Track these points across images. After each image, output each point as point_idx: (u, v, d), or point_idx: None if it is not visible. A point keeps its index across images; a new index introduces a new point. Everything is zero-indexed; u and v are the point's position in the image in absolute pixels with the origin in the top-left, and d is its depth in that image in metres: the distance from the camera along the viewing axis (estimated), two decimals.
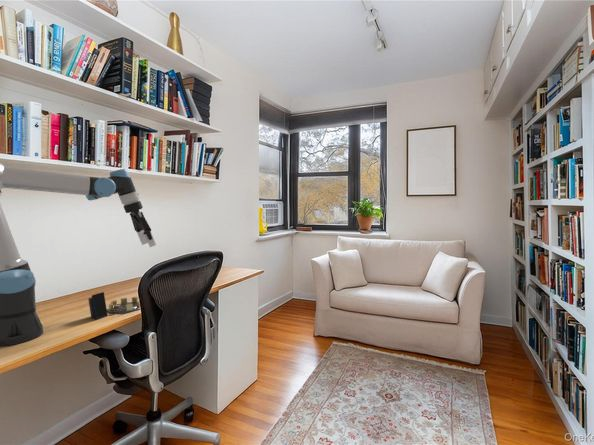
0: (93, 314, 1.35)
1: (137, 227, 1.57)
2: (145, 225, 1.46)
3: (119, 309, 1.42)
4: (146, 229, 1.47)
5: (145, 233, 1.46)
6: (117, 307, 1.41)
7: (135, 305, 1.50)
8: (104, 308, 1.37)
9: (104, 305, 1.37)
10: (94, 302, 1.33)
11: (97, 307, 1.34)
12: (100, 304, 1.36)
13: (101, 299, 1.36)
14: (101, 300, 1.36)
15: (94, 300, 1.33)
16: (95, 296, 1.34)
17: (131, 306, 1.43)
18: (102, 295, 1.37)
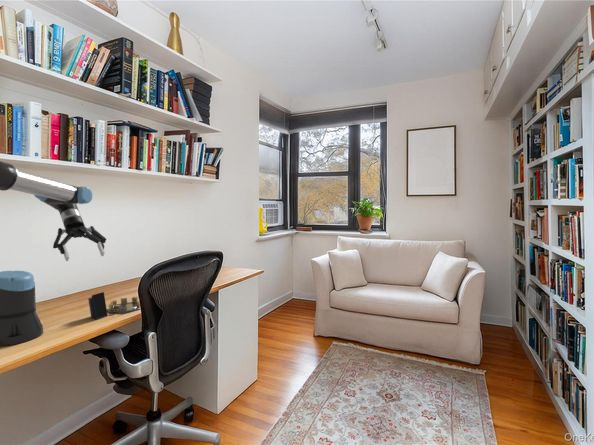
0: (93, 314, 1.35)
1: (66, 241, 1.41)
2: None
3: (119, 309, 1.42)
4: None
5: (102, 240, 1.51)
6: (117, 307, 1.41)
7: (135, 305, 1.50)
8: (104, 308, 1.37)
9: (104, 305, 1.37)
10: (94, 302, 1.33)
11: (97, 307, 1.34)
12: (100, 304, 1.36)
13: (101, 299, 1.36)
14: (101, 300, 1.36)
15: (94, 300, 1.33)
16: (95, 296, 1.34)
17: (131, 306, 1.43)
18: (102, 295, 1.37)
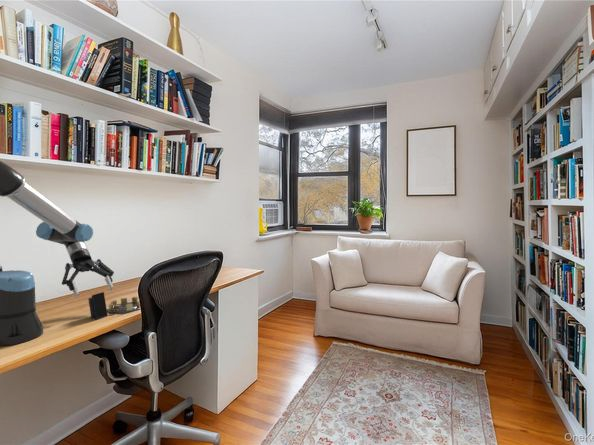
0: (93, 314, 1.35)
1: (74, 277, 1.40)
2: None
3: (119, 309, 1.42)
4: None
5: (110, 274, 1.50)
6: (117, 307, 1.41)
7: (135, 305, 1.50)
8: (104, 308, 1.37)
9: (104, 305, 1.37)
10: (94, 302, 1.33)
11: (97, 307, 1.34)
12: (100, 304, 1.36)
13: (101, 299, 1.36)
14: (101, 300, 1.36)
15: (94, 300, 1.33)
16: (95, 296, 1.34)
17: (131, 306, 1.43)
18: (102, 295, 1.37)
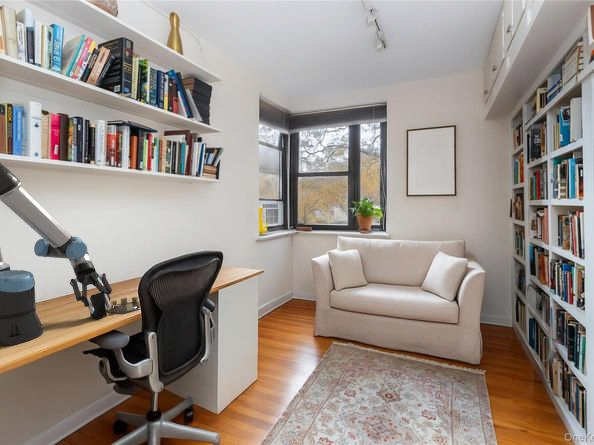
0: (93, 314, 1.35)
1: None
2: None
3: (119, 309, 1.42)
4: None
5: (108, 292, 1.40)
6: (117, 307, 1.41)
7: (135, 305, 1.50)
8: (103, 308, 1.37)
9: (103, 305, 1.37)
10: (93, 302, 1.33)
11: (96, 307, 1.34)
12: (99, 304, 1.35)
13: (100, 299, 1.36)
14: (100, 300, 1.36)
15: (93, 300, 1.33)
16: (94, 296, 1.34)
17: (131, 306, 1.43)
18: (101, 295, 1.37)
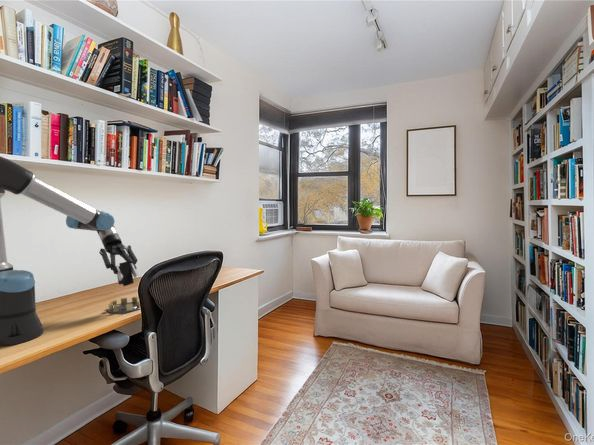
0: (121, 281, 1.45)
1: None
2: None
3: (119, 309, 1.42)
4: None
5: (134, 262, 1.51)
6: (117, 307, 1.41)
7: (135, 305, 1.50)
8: (130, 276, 1.47)
9: (130, 273, 1.47)
10: (121, 270, 1.43)
11: (124, 274, 1.44)
12: (127, 272, 1.46)
13: (127, 267, 1.46)
14: (127, 268, 1.46)
15: (121, 268, 1.43)
16: (122, 264, 1.44)
17: (131, 306, 1.43)
18: (128, 264, 1.47)
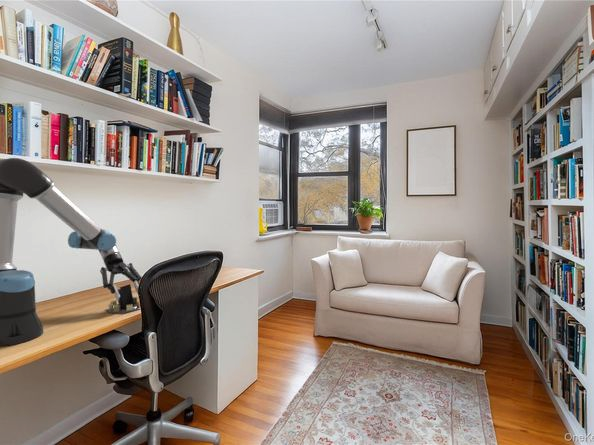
0: (121, 304, 1.45)
1: None
2: None
3: (119, 309, 1.42)
4: None
5: (138, 279, 1.53)
6: (117, 307, 1.41)
7: (135, 305, 1.50)
8: (131, 299, 1.48)
9: (131, 296, 1.48)
10: (122, 293, 1.44)
11: (125, 298, 1.45)
12: (127, 295, 1.46)
13: (128, 290, 1.47)
14: (128, 292, 1.47)
15: (122, 291, 1.44)
16: (123, 288, 1.44)
17: (131, 306, 1.43)
18: (129, 287, 1.47)
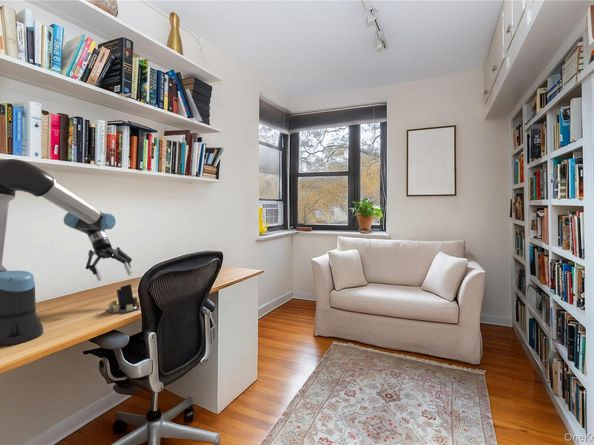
0: (122, 304, 1.45)
1: (97, 262, 1.53)
2: None
3: (119, 309, 1.42)
4: (125, 260, 1.63)
5: (128, 261, 1.62)
6: (117, 307, 1.41)
7: (135, 305, 1.50)
8: (131, 299, 1.48)
9: (131, 296, 1.48)
10: (123, 293, 1.44)
11: (125, 298, 1.45)
12: (128, 295, 1.46)
13: (128, 290, 1.47)
14: (128, 292, 1.47)
15: (123, 291, 1.44)
16: (123, 288, 1.45)
17: (131, 306, 1.43)
18: (129, 287, 1.48)
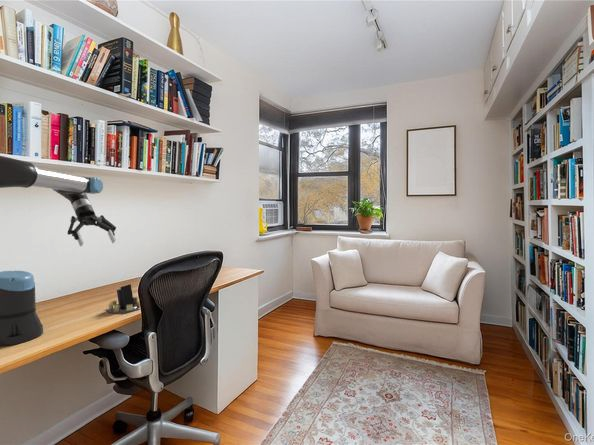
0: (122, 304, 1.45)
1: (79, 228, 1.49)
2: None
3: (119, 309, 1.42)
4: (109, 228, 1.60)
5: (112, 228, 1.59)
6: (117, 307, 1.41)
7: (135, 305, 1.50)
8: (131, 299, 1.48)
9: (131, 296, 1.48)
10: (123, 293, 1.44)
11: (125, 298, 1.45)
12: (128, 295, 1.46)
13: (128, 290, 1.47)
14: (128, 292, 1.47)
15: (123, 291, 1.44)
16: (123, 288, 1.45)
17: (131, 306, 1.43)
18: (129, 287, 1.48)
